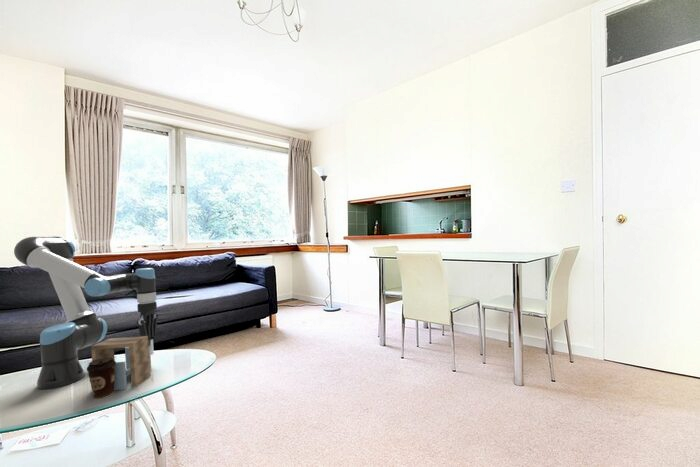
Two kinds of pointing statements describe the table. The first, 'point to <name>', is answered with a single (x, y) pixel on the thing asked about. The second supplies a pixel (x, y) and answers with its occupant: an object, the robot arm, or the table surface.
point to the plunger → (124, 371)
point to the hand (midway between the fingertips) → (149, 354)
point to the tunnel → (136, 351)
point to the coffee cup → (102, 377)
